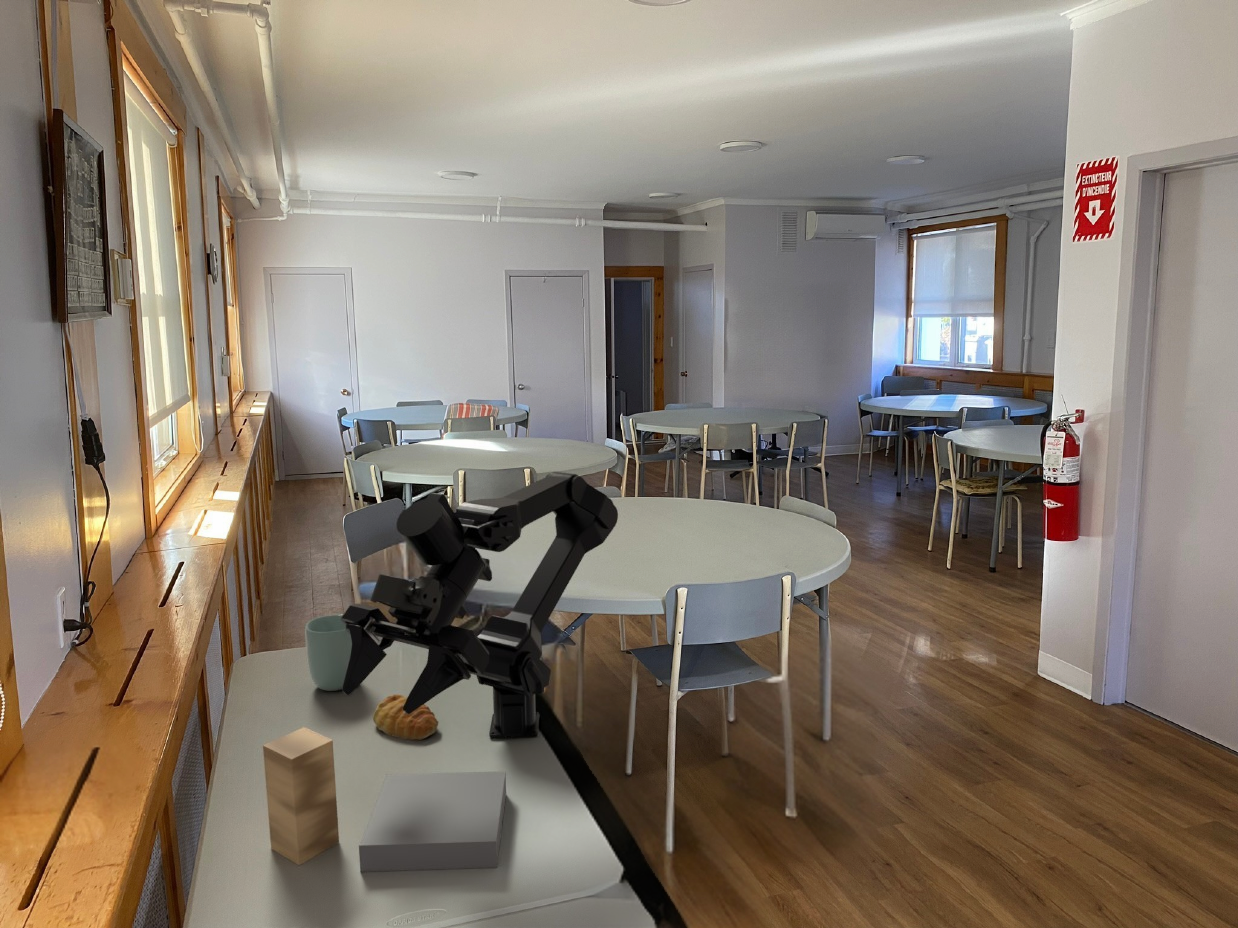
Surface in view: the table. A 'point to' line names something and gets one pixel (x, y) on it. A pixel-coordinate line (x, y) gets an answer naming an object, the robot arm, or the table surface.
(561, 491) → the robot arm
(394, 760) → the table surface
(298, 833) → the oak block
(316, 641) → the cup
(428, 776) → the plinth
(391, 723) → the pastry
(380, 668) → the table surface
